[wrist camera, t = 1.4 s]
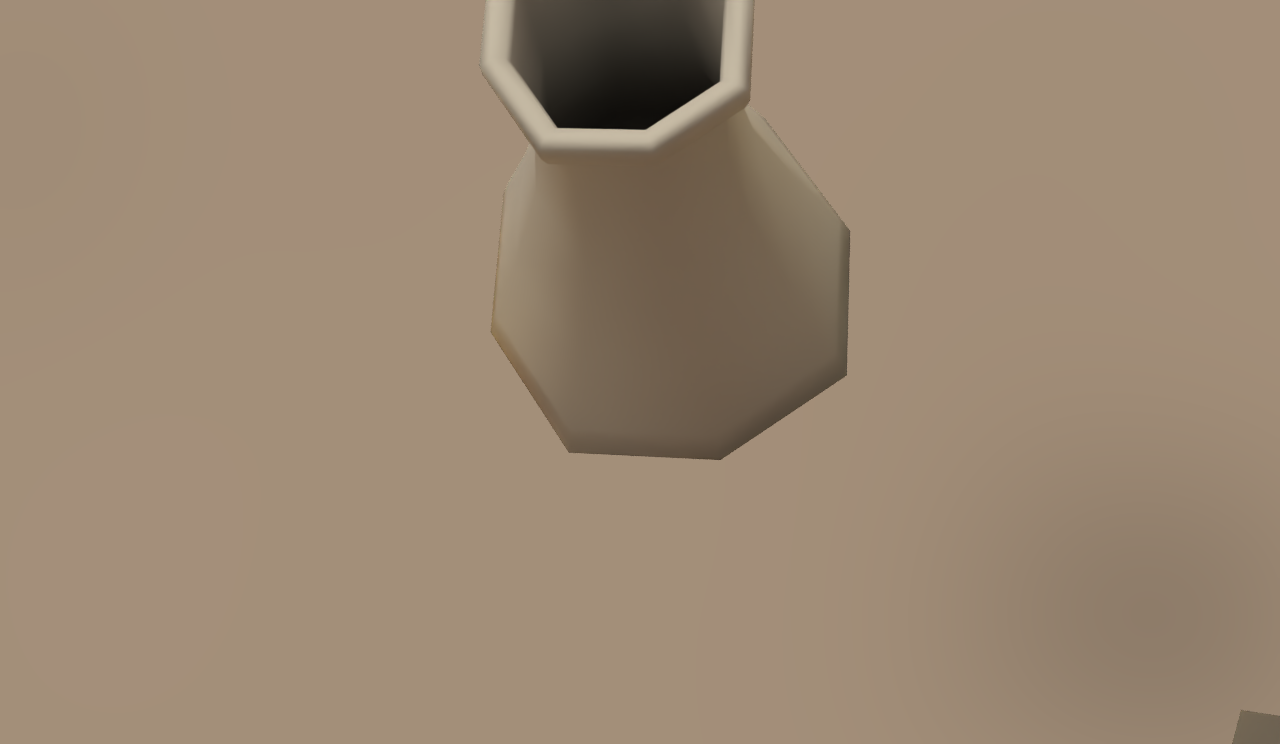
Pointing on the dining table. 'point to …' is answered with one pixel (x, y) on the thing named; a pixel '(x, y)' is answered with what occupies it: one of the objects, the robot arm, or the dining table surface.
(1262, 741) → the dock
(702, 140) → the flask
